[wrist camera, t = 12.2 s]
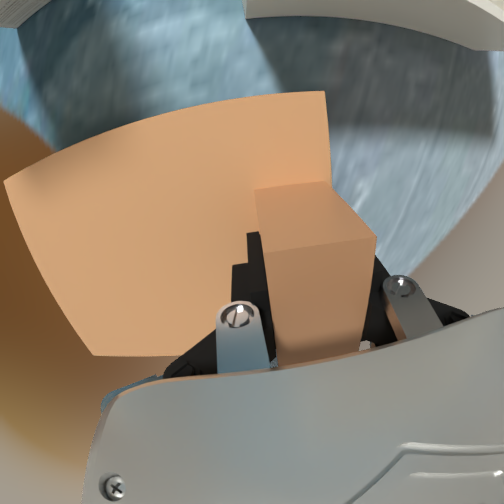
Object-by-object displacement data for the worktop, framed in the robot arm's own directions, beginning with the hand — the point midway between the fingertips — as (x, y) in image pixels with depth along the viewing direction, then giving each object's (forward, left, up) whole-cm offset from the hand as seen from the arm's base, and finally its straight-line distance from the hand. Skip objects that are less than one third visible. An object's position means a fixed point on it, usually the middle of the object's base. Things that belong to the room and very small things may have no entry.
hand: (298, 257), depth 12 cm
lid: (+7, 0, -2) cm, 7 cm away
